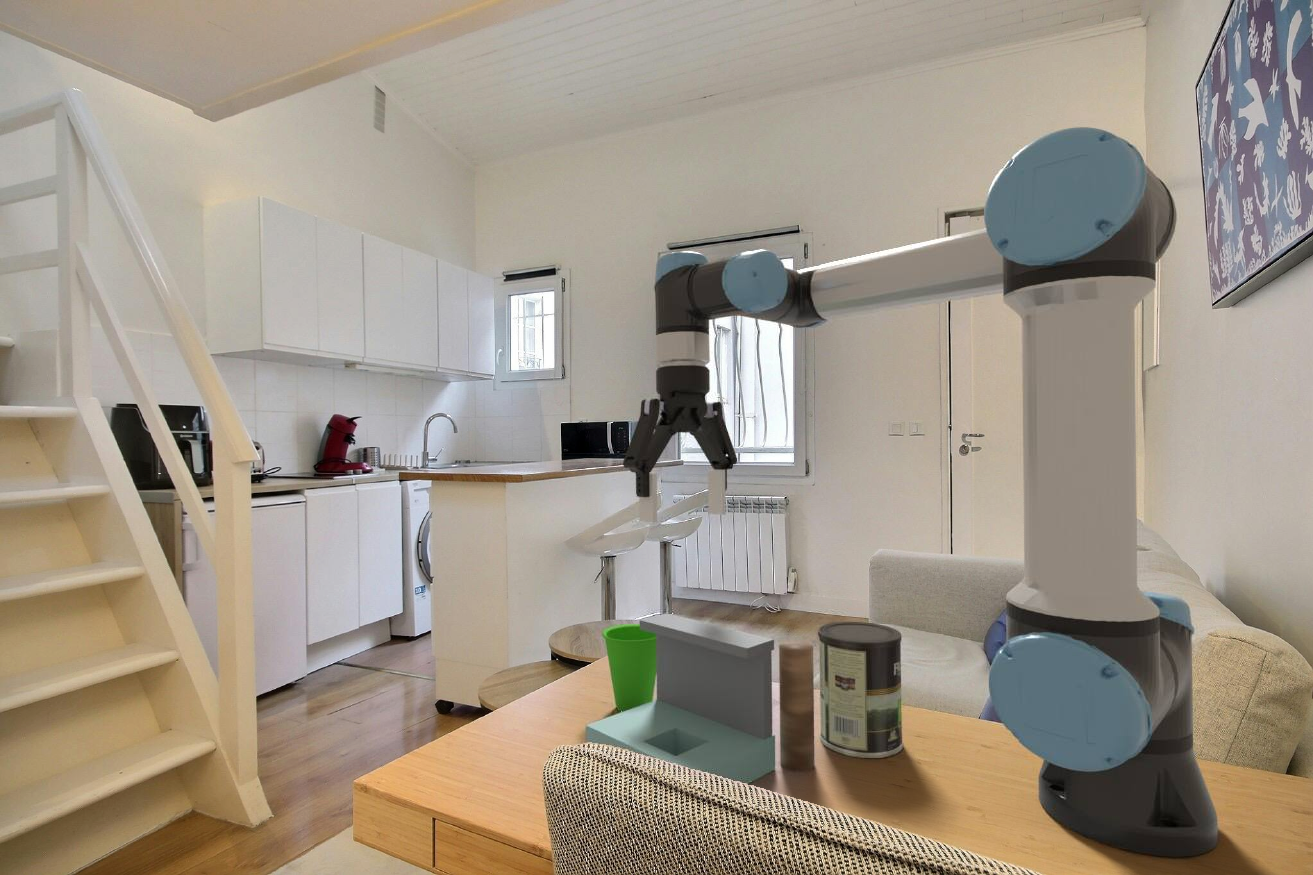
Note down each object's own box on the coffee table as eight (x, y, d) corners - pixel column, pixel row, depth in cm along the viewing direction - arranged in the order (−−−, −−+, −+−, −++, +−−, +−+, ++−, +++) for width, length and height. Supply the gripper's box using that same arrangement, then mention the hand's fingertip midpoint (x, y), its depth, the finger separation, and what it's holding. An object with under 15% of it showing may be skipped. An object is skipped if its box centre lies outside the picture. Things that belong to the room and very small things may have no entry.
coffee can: (896, 727, 93) (895, 622, 93) (908, 762, 83) (907, 644, 83) (818, 722, 95) (816, 619, 95) (820, 755, 85) (819, 640, 85)
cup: (665, 719, 97) (664, 640, 97) (599, 720, 97) (599, 640, 97) (665, 696, 106) (664, 623, 106) (605, 696, 106) (604, 623, 106)
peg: (821, 763, 83) (819, 646, 83) (801, 774, 80) (800, 653, 80) (793, 753, 86) (791, 639, 86) (773, 763, 83) (772, 646, 83)
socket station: (775, 769, 82) (773, 639, 82) (693, 813, 72) (692, 666, 72) (667, 725, 95) (666, 613, 95) (586, 758, 85) (585, 633, 85)
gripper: (722, 373, 109) (723, 509, 109) (595, 362, 92) (597, 523, 92) (759, 369, 103) (761, 512, 103) (633, 356, 86) (634, 527, 86)
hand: (684, 517), depth 98 cm, fingers open, 13 cm apart
